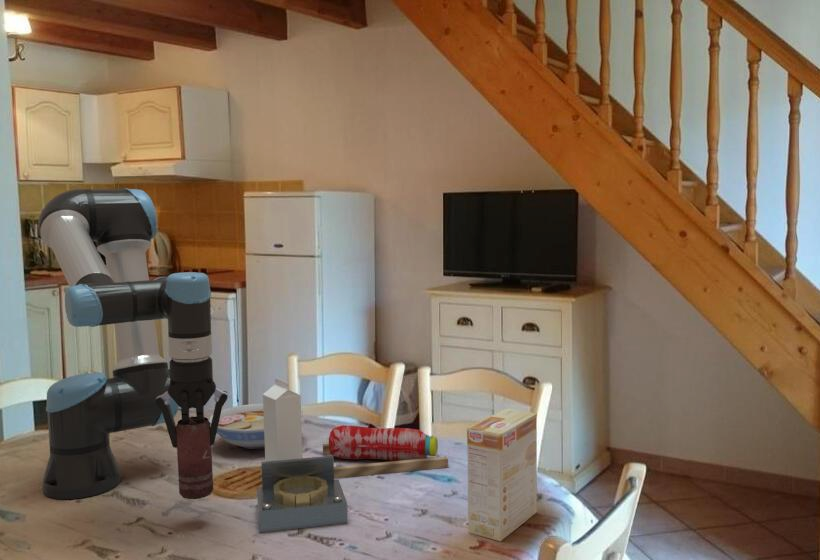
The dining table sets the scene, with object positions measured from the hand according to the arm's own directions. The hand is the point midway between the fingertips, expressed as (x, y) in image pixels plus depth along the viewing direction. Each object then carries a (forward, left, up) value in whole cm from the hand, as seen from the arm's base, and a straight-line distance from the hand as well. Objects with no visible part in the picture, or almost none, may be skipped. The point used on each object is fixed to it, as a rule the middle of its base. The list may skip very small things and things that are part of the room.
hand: (195, 481), depth 140 cm
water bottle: (+41, +26, -8) cm, 49 cm away
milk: (+17, +17, -8) cm, 26 cm away
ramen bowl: (+12, +43, -8) cm, 46 cm away
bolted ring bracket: (+19, -2, -8) cm, 21 cm away
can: (0, 0, -2) cm, 2 cm away
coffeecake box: (+55, -15, -8) cm, 58 cm away
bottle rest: (+40, +24, -8) cm, 48 cm away
